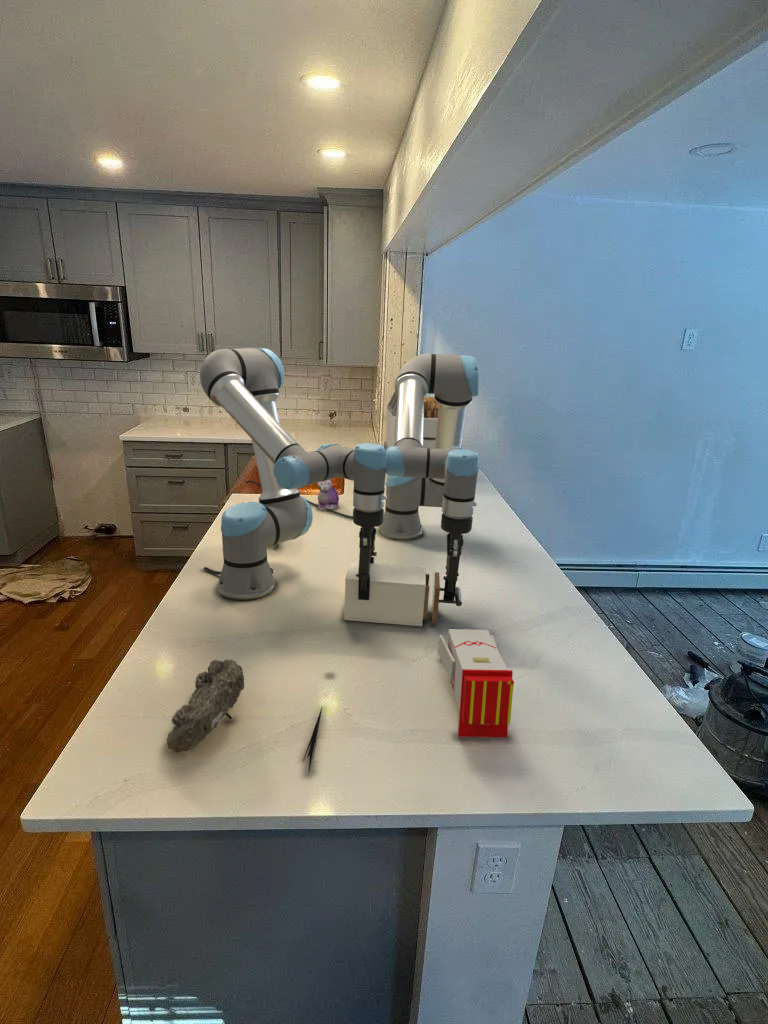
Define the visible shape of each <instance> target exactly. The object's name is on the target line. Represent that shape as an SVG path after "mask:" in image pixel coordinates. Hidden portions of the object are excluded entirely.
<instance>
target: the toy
mask: <svg viewBox="0 0 768 1024" xmlns="http://www.w3.org/2000/svg"><path fill="white" fill-rule="evenodd" d="M446 640H447V643H446V641H445V639H444V636H443V635H442V634H439V637H438V646H437V656H438V657H439V659H440V661H441V663H442V666H443V668H444V670H445V672H446V674H447V677H448V679H449V681H450V684H451V687H452V690H453V693H454V697H455V701H456V705H457V708H458V711H459V714H458V715H459V716H458V730H457V731H458V732H457V737H458V738H508V731H509V726H510V725H511V717H512V707H513V697H514V696H513V695H514V684H515V680H514V679H513V673H514V671H513V670H512V669H508V667H507V665H506V662H505V661H504V659H503V658H502V655H501V653H500V651H499V649H498V647H497V643H496V639H495V637H494V635H493V634H491V632H490V631H489V629H467V628H466V629H465V628H463V629H461V628H460V629H459V628H448V630H447V639H446Z"/></svg>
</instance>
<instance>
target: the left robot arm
mask: <svg viewBox="0 0 768 1024" xmlns="http://www.w3.org/2000/svg"><path fill="white" fill-rule="evenodd" d="M284 379H285V369H284V365H283V363H282V361H281V359H280V358H279V356H278V355H277V354H276V353H275V352H273V351H272V350H270V349H269V348H261V347H260V348H259V347H243V348H220V349H217V350H214V351H212V352H211V353H209V354H208V355H207V356H206V357H205V359H204V360H203V361H202V364H201V366H200V370H199V381H200V385H201V388H202V390H203V392H204V394H205V395H206V396H207V398H208V399H209V400H210V401H211V402H212V404H214V405H215V406H217V407H222V409H224V411H225V412H226V413H227V414H228V415H229V416H230V417H231V418H232V419H233V420H234V421H235V423H237V424H238V426H239V427H240V428H241V429H242V430H243V431H244V432H245V434H247V436H248V437H249V438H250V439H251V443H252V448H253V453H254V457H255V462H256V467H257V473H258V476H259V482H260V484H261V485H260V486H261V491H262V492H261V494H260V495H259V497H258V502H257V501H248V502H239V503H236V504H234V505H231V506H229V507H228V508H227V509H225V510H224V512H222V515H221V521H220V522H221V524H220V525H221V526H220V531H221V532H220V533H221V541H222V542H221V543H222V558H223V559H222V560H223V563H222V567H221V570H220V571H219V570H213V569H211V568H209V567H207V566H204V567H203V570H204V571H207V572H209V573H211V574H214V575H218V576H219V578H218V581H217V587H218V588H217V590H218V593H219V594H220V596H222V597H224V598H227V599H229V600H235V601H251V600H255V599H261V598H263V597H265V596H268V595H269V594H271V593H272V592H273V591H274V589H275V586H276V584H275V577H274V575H273V574H274V569H273V568H272V567H271V566H270V564H269V562H268V561H269V560H268V549H269V548H270V547H274V546H276V545H277V544H279V545H280V544H283V543H285V542H288V541H292V540H296V539H298V538H299V537H301V536H303V535H305V534H307V533H308V532H309V529H311V527H312V524H313V518H314V517H313V515H314V514H313V509H312V506H311V504H310V503H308V502H307V500H308V499H307V498H306V497H305V496H303V495H301V493H300V490H299V489H301V488H304V487H306V486H311V485H313V484H318V483H319V482H322V481H326V480H333V479H337V478H342V479H345V480H348V481H353V490H352V492H353V494H352V498H353V499H352V506H353V507H354V508H353V509H352V517H353V519H352V523H353V524H354V525H356V526H357V527H360V530H359V532H358V538H359V544H358V545H359V546H358V547H359V555H358V562H359V572H358V574H356V577H358V578H359V586H358V600H369V592H370V574H369V572H370V563H375V557H377V554H378V552H377V551H376V547H375V541H376V535H377V527H379V526H380V525H382V524H383V520H384V513H385V509H384V508H385V501H386V499H387V496H386V495H385V492H386V490H385V489H386V488H385V487H386V464H387V463H386V450H385V448H384V445H381V444H379V443H371V442H365V443H364V442H363V443H359V444H357V445H355V447H354V448H351V447H347V446H344V445H341V444H338V443H328V442H327V443H324V444H322V445H321V446H320V447H318V448H317V449H316V450H311V451H306V450H305V449H304V447H303V446H301V444H300V443H298V442H297V441H296V439H294V437H293V436H292V435H291V434H290V433H289V432H288V431H287V430H286V429H285V428H284V427H283V426H282V424H281V422H280V417H279V412H278V408H277V403H276V402H277V399H278V398H279V397H280V389H281V388H282V386H283V384H284V381H283V380H284Z"/></svg>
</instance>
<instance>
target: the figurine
mask: <svg viewBox="0 0 768 1024" xmlns="http://www.w3.org/2000/svg"><path fill="white" fill-rule="evenodd" d="M317 487H318V490H319V491H318V493H317V502H318V503H317V505H318V506H319V507H317V508H318V510H321V511H327V510H326V508H327V509H330V510H334V509H337V508H338V506H339V500H340V497H339V493H338V491H337V489H336V488H334V487H333V483H332V479H330V480H326V481H322V482H318V483H317Z"/></svg>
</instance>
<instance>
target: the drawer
mask: <svg viewBox="0 0 768 1024" xmlns="http://www.w3.org/2000/svg"><path fill="white" fill-rule="evenodd" d="M433 576H434V578H433V587H432V597H431V598H432V599H431V623H433V624H437V623H438V617H439V615H438V613H439V605H440V604H451V605H452V604H453V605H455V606H457V607H461V606H462V605H463V599H462V590H461V588H460V587H459V586H456V589H455V598H454V601H453V600H443V599H440V594H441V592H444V587H441V581H440V579H441V575H440V572H437V571H435V572H434V575H433ZM429 584H430V573H426V587H425V599H424V611H423V620H428V610H429V609H428V607H429V597H430V585H429Z"/></svg>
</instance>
